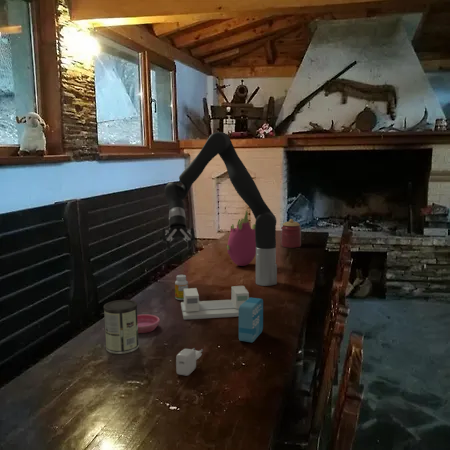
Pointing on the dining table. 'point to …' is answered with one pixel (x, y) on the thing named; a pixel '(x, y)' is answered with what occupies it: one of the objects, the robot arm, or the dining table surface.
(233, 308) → the rail panel
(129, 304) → the coffee can
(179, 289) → the supplement bottle
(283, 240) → the canister
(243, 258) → the pink dragon fruit
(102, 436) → the dining table surface
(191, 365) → the power adapter
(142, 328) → the saucer
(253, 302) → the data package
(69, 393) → the dining table surface
